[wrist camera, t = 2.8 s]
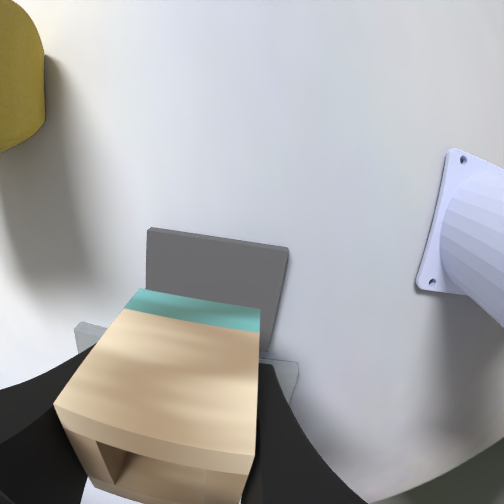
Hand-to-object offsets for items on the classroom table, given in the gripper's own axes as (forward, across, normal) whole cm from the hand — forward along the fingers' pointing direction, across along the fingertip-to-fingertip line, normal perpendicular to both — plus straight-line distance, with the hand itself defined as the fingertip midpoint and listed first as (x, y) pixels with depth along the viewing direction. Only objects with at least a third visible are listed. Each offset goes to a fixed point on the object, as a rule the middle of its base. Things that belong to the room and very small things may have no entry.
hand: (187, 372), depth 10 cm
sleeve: (+2, 0, 0) cm, 2 cm away
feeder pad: (+7, 0, 0) cm, 7 cm away
